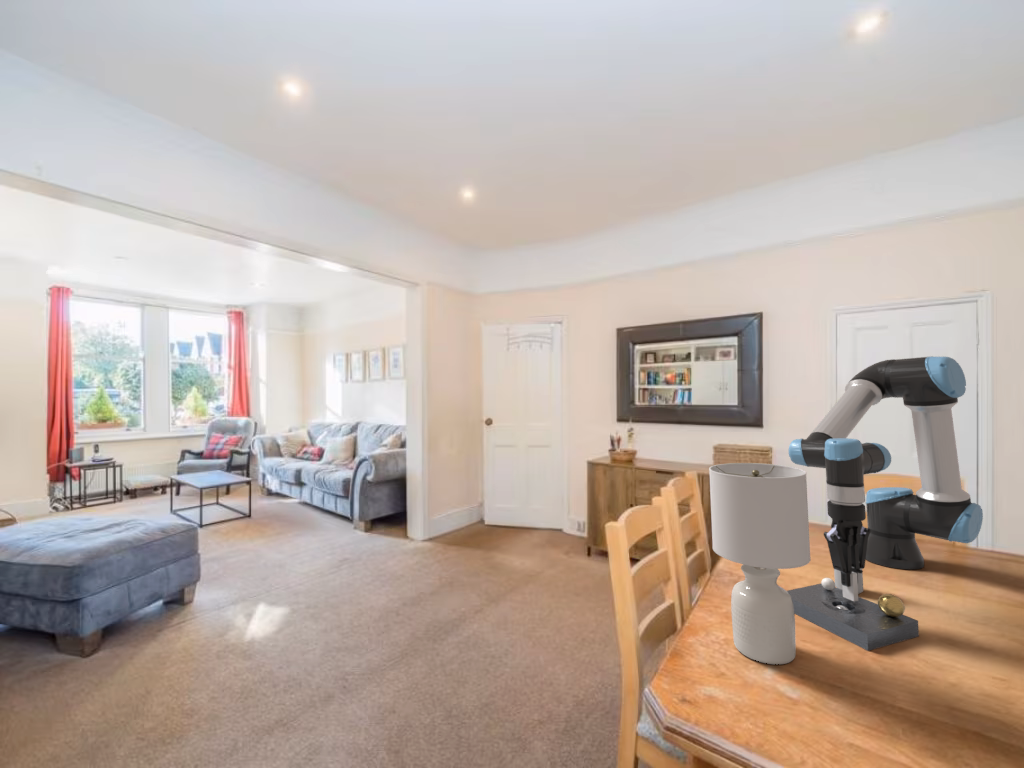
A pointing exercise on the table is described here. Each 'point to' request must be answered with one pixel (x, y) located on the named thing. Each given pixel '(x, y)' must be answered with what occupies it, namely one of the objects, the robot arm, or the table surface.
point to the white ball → (828, 583)
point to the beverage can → (839, 585)
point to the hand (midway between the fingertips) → (850, 598)
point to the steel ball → (842, 607)
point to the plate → (852, 617)
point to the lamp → (761, 550)
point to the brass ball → (891, 605)
